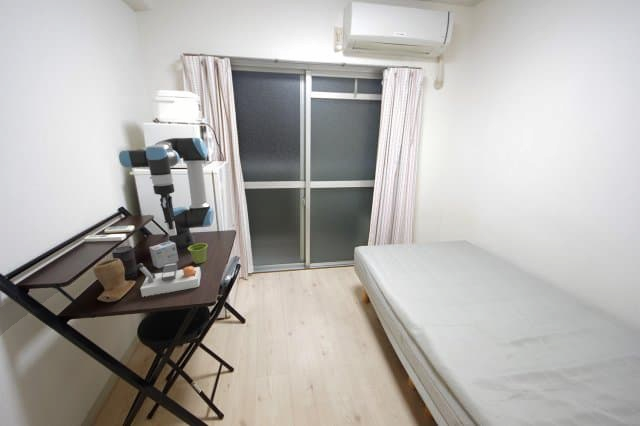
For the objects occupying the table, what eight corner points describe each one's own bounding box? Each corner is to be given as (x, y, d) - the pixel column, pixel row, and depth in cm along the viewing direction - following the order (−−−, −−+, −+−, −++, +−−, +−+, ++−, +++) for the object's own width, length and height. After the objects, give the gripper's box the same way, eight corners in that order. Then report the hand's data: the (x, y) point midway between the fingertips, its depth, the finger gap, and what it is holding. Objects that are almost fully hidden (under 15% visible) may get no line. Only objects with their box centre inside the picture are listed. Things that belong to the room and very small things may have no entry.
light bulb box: (173, 257, 144) (169, 240, 140) (179, 261, 140) (176, 242, 137) (152, 265, 135) (148, 246, 132) (158, 269, 131) (154, 249, 128)
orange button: (185, 278, 121) (183, 267, 119) (195, 276, 122) (194, 265, 120) (184, 283, 117) (182, 271, 115) (195, 281, 118) (193, 269, 116)
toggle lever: (150, 279, 115) (136, 263, 111) (156, 276, 115) (141, 261, 111) (149, 282, 112) (134, 266, 109) (154, 279, 113) (140, 263, 109)
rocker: (165, 266, 118) (164, 263, 117) (177, 264, 120) (176, 261, 119) (162, 281, 111) (161, 277, 110) (175, 279, 113) (174, 275, 112)
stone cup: (111, 285, 117) (103, 255, 113) (139, 283, 119) (132, 253, 115) (88, 305, 103) (78, 272, 99) (120, 303, 105) (112, 270, 100)
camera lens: (116, 283, 119) (108, 253, 114) (121, 274, 126) (114, 247, 122) (137, 279, 122) (130, 250, 118) (141, 271, 129) (134, 244, 125)
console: (149, 282, 119) (147, 271, 117) (200, 273, 126) (199, 263, 125) (142, 297, 108) (139, 284, 107) (198, 286, 116) (196, 275, 114)
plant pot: (202, 266, 134) (200, 251, 132) (186, 264, 136) (184, 249, 133) (212, 258, 143) (210, 243, 140) (198, 256, 145) (195, 242, 142)
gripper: (156, 181, 113) (166, 231, 121) (149, 187, 102) (161, 241, 109) (175, 180, 116) (183, 228, 123) (170, 186, 104) (180, 239, 112)
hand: (173, 234), depth 116 cm, fingers closed
